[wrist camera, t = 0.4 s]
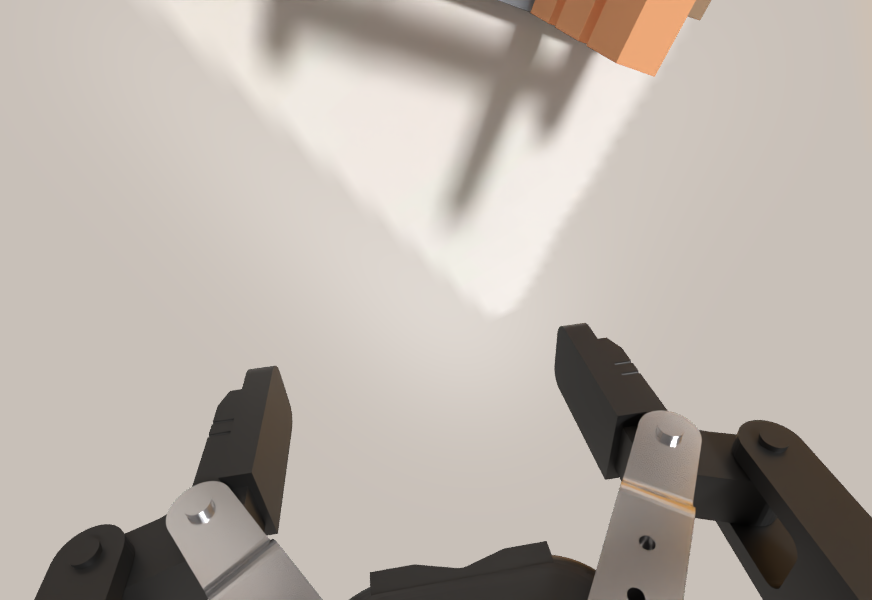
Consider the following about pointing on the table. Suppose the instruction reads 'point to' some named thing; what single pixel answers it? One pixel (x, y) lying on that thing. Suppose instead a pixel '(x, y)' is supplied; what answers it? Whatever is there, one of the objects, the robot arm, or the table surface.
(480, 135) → the table surface
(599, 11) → the collar
